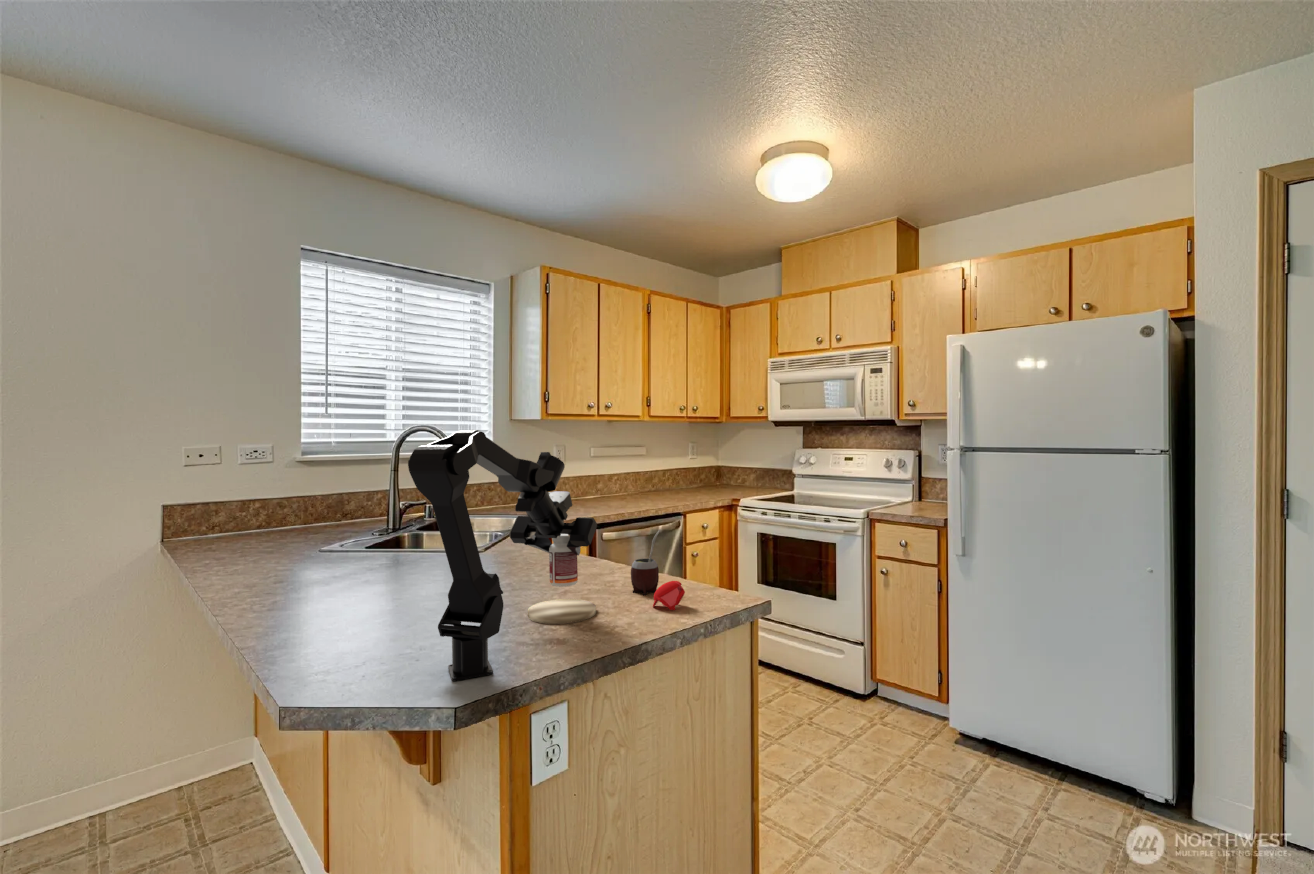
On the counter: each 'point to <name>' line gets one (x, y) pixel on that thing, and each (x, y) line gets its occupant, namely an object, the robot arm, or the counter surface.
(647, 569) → the mate gourd
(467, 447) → the robot arm
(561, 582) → the pill bottle
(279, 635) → the counter surface
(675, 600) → the cap
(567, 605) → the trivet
